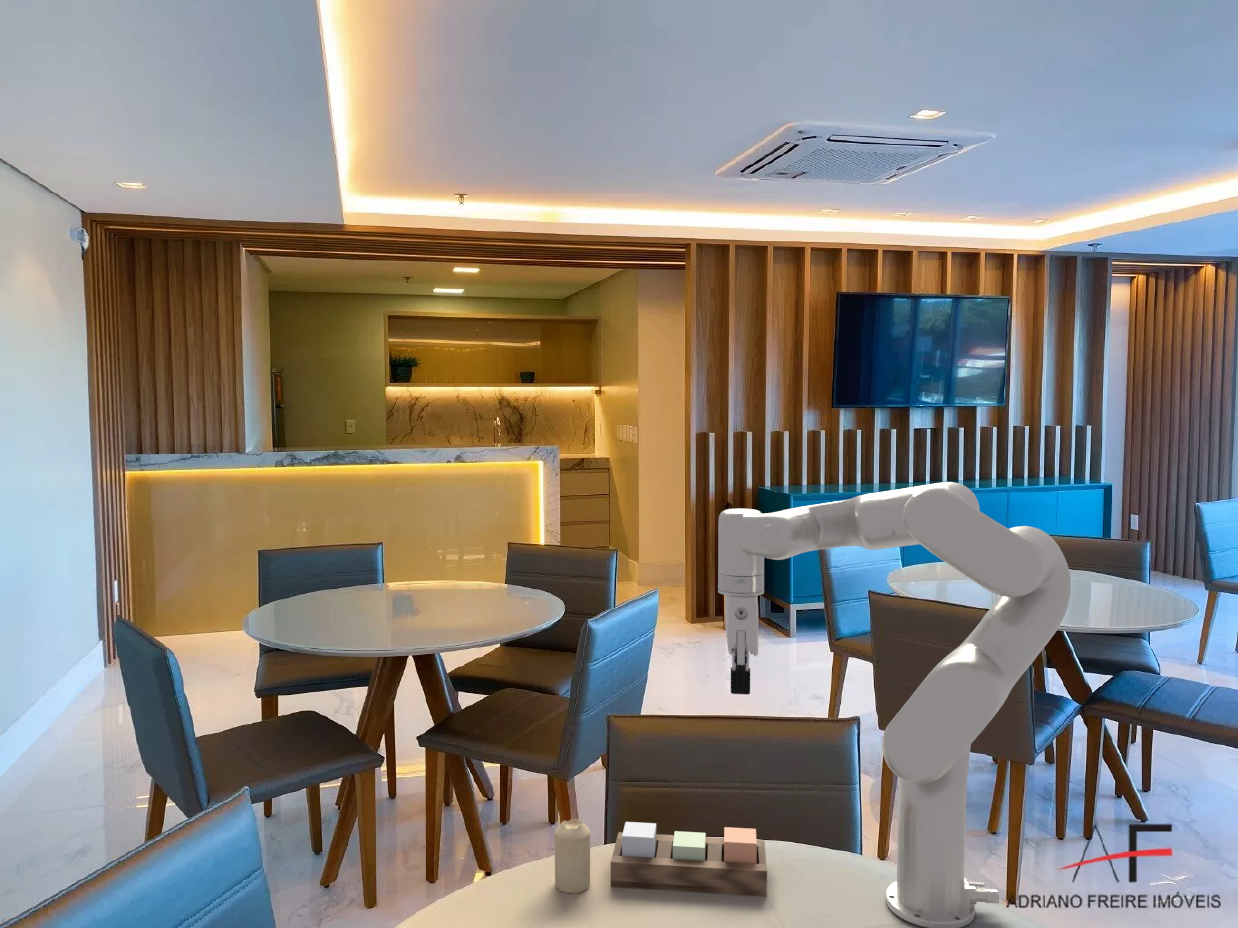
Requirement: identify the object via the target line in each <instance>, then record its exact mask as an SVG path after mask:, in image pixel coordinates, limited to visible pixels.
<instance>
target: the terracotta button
mask: <svg viewBox="0 0 1238 928" xmlns="http://www.w3.org/2000/svg"><path fill="white" fill-rule="evenodd" d="M723 829H724V830H723V831H724V832H723V833H724V835H723V836H724V837H723V838H724V862H735V863H752V864H757V841H756V840H757V829H756V828H750V827H748V828H747V827H746V828H744V827H729V826H727V827H726V826H725V827H724V828H723Z"/></svg>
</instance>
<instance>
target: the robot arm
mask: <svg viewBox="0 0 1238 928" xmlns="http://www.w3.org/2000/svg"><path fill="white" fill-rule="evenodd" d="M980 509H981V508H980V503H979V501H978V498H977V497H976V495H975V493H974V492H973V491H972V490H971V489H969V487H967V486H966V485H964V484H961V483H958V482H953V481H946V482H945V481H943V482H936V483H931V484H929V483H928V484H924V485H923V484H921V485H917V486H911V487H906V488H905V487H904V488H900V489H892V490H885V491H879V492H871V493H866V494H862V495H857V496H854V497H852V498H848V499H843V500H839V501H837V500H836V501H832V502H825V503H818V504H812V505H811V504H810V505H805V506H798V507H792V508H787V509H782V510H779V511H778V510H777V511H774V512H773V511H772V512H768V513H762V512H761V511H760V510H757V509H754V508H753V509H752V508H742V507H741V508H740V507H739V508H728V509H725V510H723V511H721V512H720V514H719V516H718V530H717V531H718V533H717V534H718V535H717V536H718V539H717V540H718V542H717V543H718V546H717V548H718V551H717V553H718V556H717V558H718V559H717V561H718V563H717V565H718V571H717V572H718V573H717V577H718V578H717V579H718V580H717V581H718V582H717V588H718V590H717V592H718V593H719V594H720V595H724V596H725V600H724V601H725V607H724V608H725V631H726V632H725V634H726V644H727V650H728V652H727V653H728V655H730V656H731V658H732V659H731V662H732V663H731V667H730V694H732V695H750V693H751V668H750V655H753V657H757V656H758V655H759V602H758V601H759V600H758V596H761V595H764V593H765V558H766V559H769V560H775V561H776V560H777V561H780V560H781V561H782V560H785V559H789V558H792V557H794V556H795V557H796V556H797V555H800V554H804V553H807V552H812V551H820V550H827V549H833V548H843V547H862V548H864V549H866V550H868V551H869V550H872V551H874V550H875V551H877V550H878V551H879V550H884V549H885V550H886V549H892V548H900V547H907V546H909V547H910V546H916V545H921V546H922V547H923V548H925V549H926V550H927V551H928V552H930V554H933V555H935V556H936V557H937V558H938V559H940V560H941V561H942V562H944V563H946V564H947V565H948V566H950V567H952V568H953V569H955V570H957V571H958V572H959V573H961V574H962V575H963V576H965V577H967V578H968V579H969V580H971V581H973V582H974V583H976V584H977V585H978V586H980V587H982V588H983V589H985V590H987V591H989V592H991V593H992V594H995V595H998V596H999V597H998V598H997V599H996V601H995V602H994V603H993V604H992V606H991V607H990V609H989V610H988V611H987V612H985V613H986V614H984V616H983V617H982V619H981V620H980V621H979V623H978V624H977V625H976V627H975V628H974V629H973V630H972V632H970V634H969V635H968V636H967V637H966V638H965V639H964V640H963V642H962V643H961V644H960V645H959V646H958V647H956V648H955V649H954V650H952V651H951V652H950V653H948V654H947V655H946V656H945V657H944V658H942V660H941V661H939V662H938V663H937V664H936V665H935V667H933V669H932V670H931V671H930V672H929V673H928V674H927V676H926V677H925V678H924V679H923V681H922V682H921V683H920V684H919V685H918V687H917V688H916V689H915V691H914V692H913V693H912V695H911V696H910V697H909V698H908V700H907V701H906V702H905V703H904V705H903V706H902V707H901V708H900V710H899V711H898V712H897V713H896V714H895V716H894V717H893V718H892V720H891V721H890V722H889V723H888V724H887V726H886V727H885V729H884V733H883V736H882V741H881V750H882V755H883V758H884V762H886V765H887V767H888V768H889V770H891V772H892V773H893V774H894V775H895V776H896V777H898V794H897V795H898V797H897V840H896V841H897V843H896V845H897V847H896V849H897V850H896V881H894V882H892V883H891V884H890V885H889V886H888V887H887V888H886V890H885V902H886V904H887V906H888V909H890V910H891V912H893V914H895V915H896V916H898V917H899V918H900V919H902V920H904V921H906V922H908V923H910V924H913V925H916V926H919V927H922V928H963V927H966V926H968V925H969V924H970V923H972V922H973V921H974V919H975V916H976V905H977V904H978V903H985V904H995V905H996V904H997V905H998V904H1000V894H999V891H998V889H997V888H996V889H995V888H986V885H985V882H984V881H968V879H967V878H966V877H965V875H966V873H965V872H966V871H965V870H966V869H965V868H966V828H967V827H966V825H967V824H966V822H967V815H966V814H967V798H968V797H967V796H968V794H967V793H968V792H967V791H968V789H967V788H968V775H969V764H970V758H971V757H970V756H971V755H970V754H971V746H972V743H973V742H974V741H975V740H976V739H977V737H978V736H979V735H980V734H981V733H982V732H983V731H984V730H985V728H986V727H987V726H988V724H989V723H991V721H992V719H993V718H994V717H995V716H996V714H997V713H998V712H999V710H1000V709H1001V708H1002V706H1003V705H1004V704H1005V702H1006V701H1007V699H1008V697H1009V695H1010V693H1011V691H1012V690H1013V688H1014V686H1015V685H1016V684H1017V682H1018V681H1019V680H1020V678H1021V677H1022V676H1023V675H1024V673H1025V672H1026V671H1027V669H1029V667H1030V666H1031V665H1032V664H1033V663H1034V661H1035V660H1036V658H1037V657H1038V656H1039V655H1040V654H1041V652H1042V651H1043V650H1044V648H1045V647H1046V645H1048V643H1049V642H1050V640H1051V639H1052V638H1053V637H1054V635H1055V634H1056V632H1057V631H1058V629H1059V627H1061V624H1062V622H1063V620H1064V618H1065V616H1066V613H1067V610H1068V607H1069V604H1070V599H1071V593H1072V582H1071V580H1072V579H1071V572H1070V569H1069V565H1068V562H1067V560H1066V557H1065V556H1064V553H1063V551H1062V550H1061V548H1060V546H1059V545H1058V543H1057V542H1056V541H1055V540H1054V538H1053V537H1052V536H1050V535H1049V534H1048V533H1047V532H1045V531H1043V530H1042V529H1040V528H1038V527H1033V526H1028V525H1022V526H1021V525H1020V526H1014V527H1010V528H1008V527H1006V526H1004V525H1003V524H1001V523H999V522H998V521H996V520H994V519H993V518H991V517H989V516H988V515H986V514H985V513H984V512H982V511H980Z"/></svg>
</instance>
